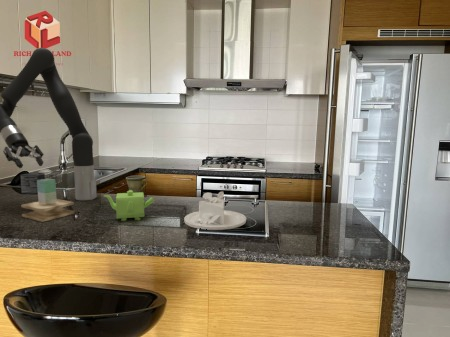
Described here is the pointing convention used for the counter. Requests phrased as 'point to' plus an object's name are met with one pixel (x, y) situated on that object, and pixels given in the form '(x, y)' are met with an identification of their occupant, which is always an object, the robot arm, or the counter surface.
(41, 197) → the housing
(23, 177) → the small box
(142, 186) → the ceramic cup
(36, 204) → the stand
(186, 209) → the counter surface
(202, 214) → the dish
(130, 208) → the kettle
